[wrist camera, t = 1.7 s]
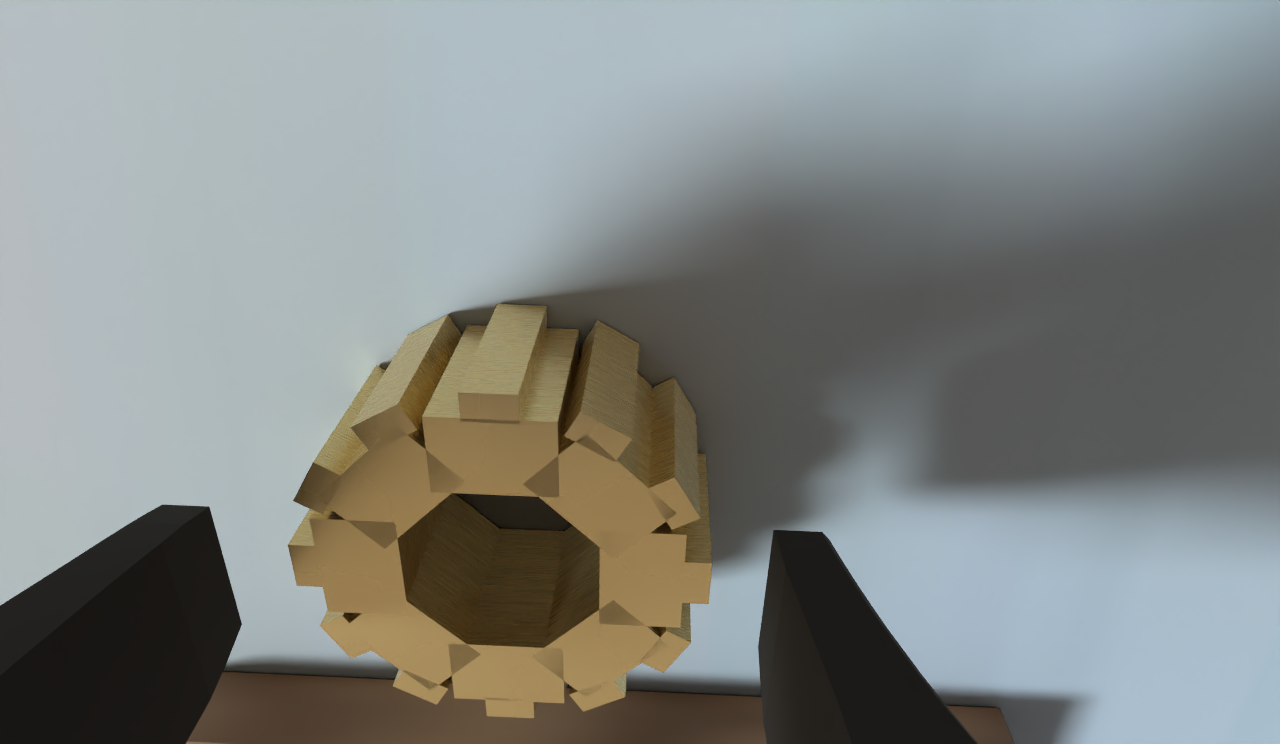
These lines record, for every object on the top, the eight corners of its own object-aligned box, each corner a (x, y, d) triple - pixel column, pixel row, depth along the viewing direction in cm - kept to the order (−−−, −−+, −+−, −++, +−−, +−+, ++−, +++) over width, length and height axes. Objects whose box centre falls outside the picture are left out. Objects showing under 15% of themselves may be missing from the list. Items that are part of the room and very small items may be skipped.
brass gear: (715, 312, 12) (726, 403, 10) (693, 602, 15) (698, 726, 12) (329, 297, 12) (251, 384, 10) (377, 588, 15) (324, 708, 12)
